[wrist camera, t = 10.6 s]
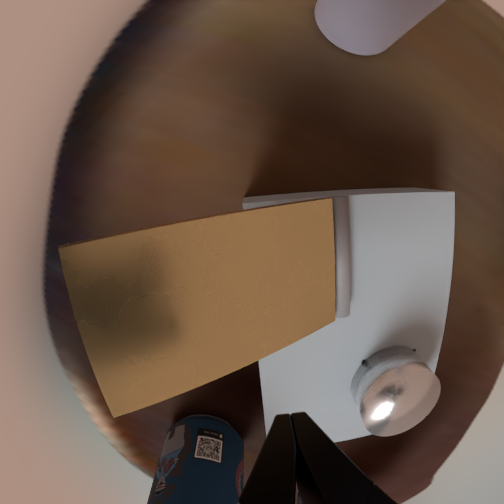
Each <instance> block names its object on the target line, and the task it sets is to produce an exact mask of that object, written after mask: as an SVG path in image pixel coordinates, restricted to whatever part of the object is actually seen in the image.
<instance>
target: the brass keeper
mask: <svg viewBox="0 0 504 504" xmlns="http://www.w3.org/2000/svg"><path fill="white" fill-rule="evenodd" d="M58 249H59V254H60V259H61V264H62V268H63V273H64V277H65V281H66V285H67V289H68V293H69V297H70V301H71V304H72V308H73V311H74V315H75V318H76V322H77V325H78V328H79V331H80V334H81V337H82V340H83V343H84V346H85V349H86V352H87V355H88V358H89V360H90V363H91V366H92V368H93V371H94V374H95V376H96V379H97V381H98V384H99V386H100V389H101V391H102V393H103V396H104V398H105V400H106V403H107V405H108V407H109V409H110V411H111V414H112V416H113V418H115V417H118V416H121V415H124V414H127V413H130V412H133V411H136V410H139V409H141V408H144V407H147V406H150V405H153V404H155V403H158V402H161V401H163V400H166V399H169V398H171V397H174V396H177V395H179V394H182V393H184V392H187V391H189V390H192V389H194V388H197V387H199V386H202V385H204V384H206V383H209V382H211V381H213V380H216V379H218V378H220V377H223V376H225V375H227V374H230V373H232V372H234V371H236V370H239V369H241V368H243V367H245V366H247V365H249V364H252V363H254V362H256V361H258V360H260V359H262V358H264V357H266V356H268V355H271V354H273V353H275V352H277V351H279V350H281V349H283V348H285V347H287V346H289V345H291V344H293V343H295V342H297V341H298V340H300V339H302V338H304V337H306V336H308V335H310V334H312V333H314V332H316V331H317V330H319V329H321V328H323V327H325V326H327V325H329V324H330V323H332V322H334V321H335V248H334V223H333V205H332V198H318V199H311V200H304V201H297V202H290V203H283V204H277V205H270V206H264V207H257V208H251V209H245V210H239V211H233V212H227V213H221V214H215V215H209V216H203V217H198V218H192V219H187V220H181V221H176V222H171V223H165V224H160V225H155V226H150V227H145V228H140V229H135V230H130V231H125V232H120V233H115V234H111V235H106V236H101V237H97V238H92V239H88V240H83V241H79V242H74V243H70V244H66V245H61V246H59V248H58Z"/></svg>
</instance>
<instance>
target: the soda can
mask: <svg viewBox="0 0 504 504" xmlns="http://www.w3.org/2000/svg"><path fill="white" fill-rule="evenodd" d="M243 469H244V444H243V441H242V439H241V437H240V435H239V434H238V433H237V432H236V430H235V429H234V428H233V427H232V426H231V425H230V424H229V423H227V422H226V421H224V420H222V419H220V418H218V417H215V416H210V415H201V414H200V415H191V416H188V417H185V418H183V419H182V420H180V421H178V422H177V423H175V424H174V425H172V426H171V427H170V428H169V430H168V431H167V434H166V437H165V441H164V444H163V448H162V451H161V455H160V458H159V462H158V465H157V469H156V473H155V476H154V480H153V484H152V488H151V491H150V495H149V499H148V503H147V504H238V503H237V501H238V499H239V497H240V495H241V493H242V491H243Z"/></svg>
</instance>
